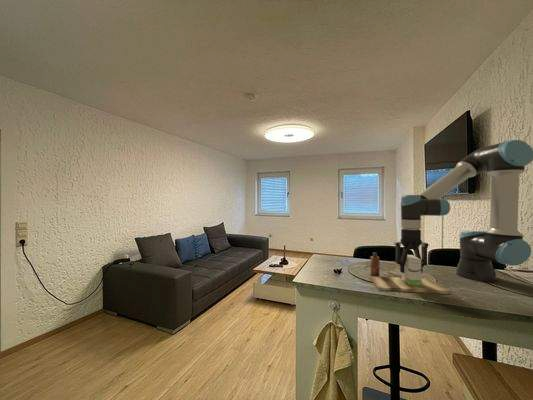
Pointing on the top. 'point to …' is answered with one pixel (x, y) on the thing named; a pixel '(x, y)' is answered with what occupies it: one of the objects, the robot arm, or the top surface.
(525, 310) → the top surface
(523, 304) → the top surface
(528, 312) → the top surface
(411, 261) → the ink box
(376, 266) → the brown bottle
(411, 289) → the panel
